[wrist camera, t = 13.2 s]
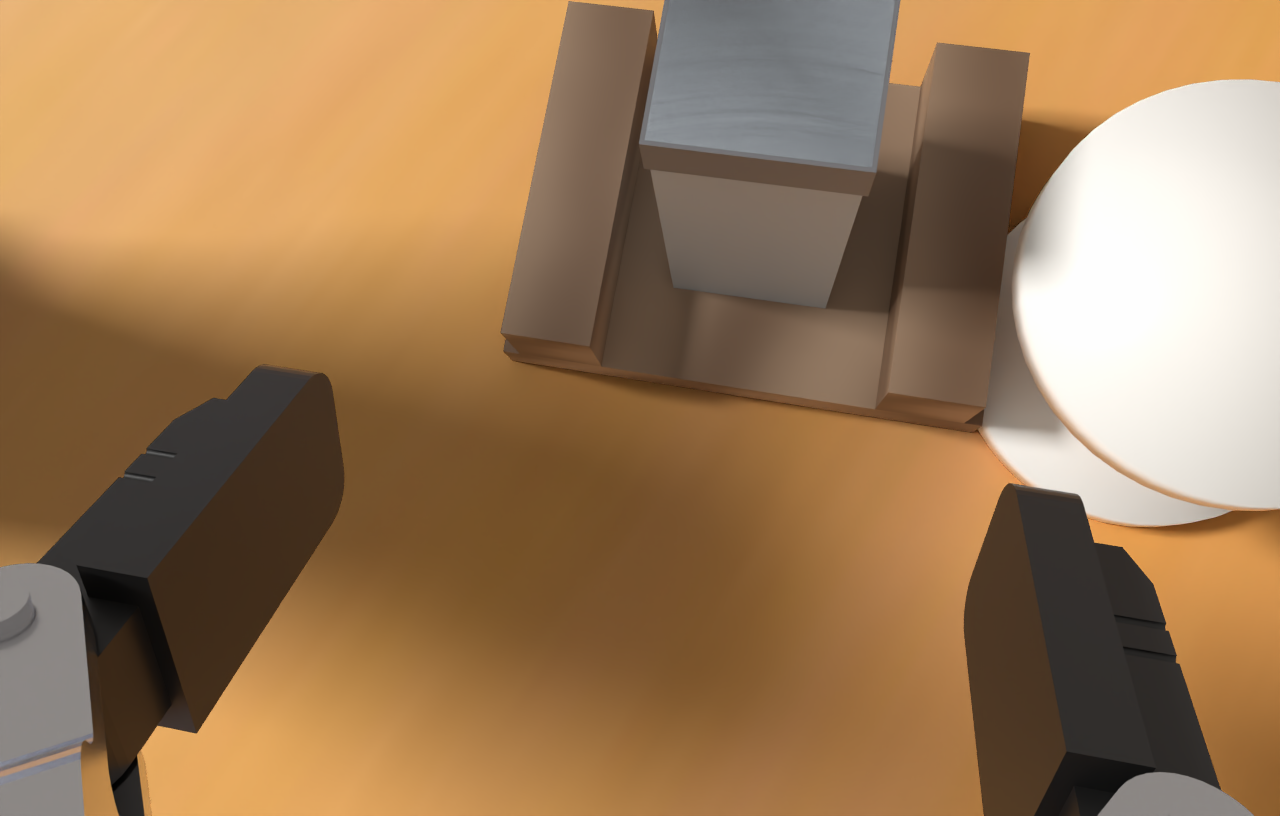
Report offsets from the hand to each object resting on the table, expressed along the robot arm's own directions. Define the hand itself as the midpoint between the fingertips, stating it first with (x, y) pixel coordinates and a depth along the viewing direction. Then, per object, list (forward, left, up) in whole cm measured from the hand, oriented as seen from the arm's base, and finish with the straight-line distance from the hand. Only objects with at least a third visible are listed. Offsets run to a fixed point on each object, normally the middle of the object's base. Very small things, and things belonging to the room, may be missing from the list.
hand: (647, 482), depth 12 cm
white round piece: (+2, +14, -18) cm, 23 cm away
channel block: (-7, +7, -18) cm, 20 cm away
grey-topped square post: (-7, +7, -17) cm, 19 cm away
